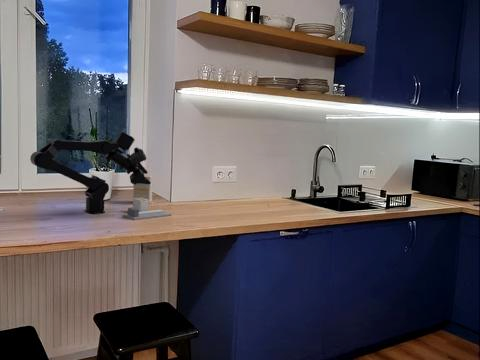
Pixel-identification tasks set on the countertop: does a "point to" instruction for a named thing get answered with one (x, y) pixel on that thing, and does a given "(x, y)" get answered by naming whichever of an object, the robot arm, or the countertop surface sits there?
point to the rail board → (144, 214)
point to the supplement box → (143, 190)
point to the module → (140, 204)
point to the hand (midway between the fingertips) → (148, 178)
